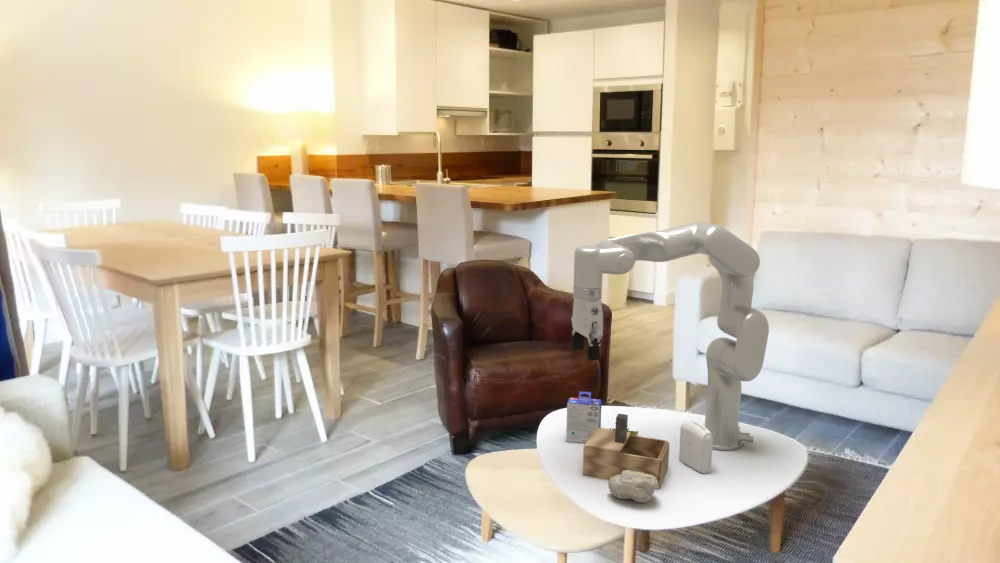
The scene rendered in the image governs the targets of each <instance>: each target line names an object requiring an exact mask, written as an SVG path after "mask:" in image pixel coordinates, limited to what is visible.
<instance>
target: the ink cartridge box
mask: <svg viewBox="0 0 1000 563" xmlns="http://www.w3.org/2000/svg"><path fill="white" fill-rule="evenodd" d="M583 395H587V396H583ZM596 427H599V428H602V399H597V398H592V392H591V391H582V390H581V391H580V390H579V391H578V397H569V398H568V401H567V403H566V427H565V428H566V429H565V430H566V431H565V432H566V433H565V435H566V436H565V441H566V442H570V443H572V442H573V443H581V444H586V442H587V441H588V439H589V438H590V436H591V435H592V433H593V432H594V430H595V429H596Z"/></svg>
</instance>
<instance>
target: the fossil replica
mask: <svg viewBox="0 0 1000 563" xmlns="http://www.w3.org/2000/svg"><path fill="white" fill-rule="evenodd" d="M607 485H608V489H609V492H610V493H611V495H612V496H614V497H615V498H618V499H622V500H629V499H630V500H633V501H635V502H637V503H639V504H640V503H648V502H649V501H650V500H651V499H652V496H653V495H654V493H655V490H658V489H660V488H659V486H658V481H657V478H656V477H655V476H653V475H649V474H644V473H640V472H635V471H631V470H625V471H623V472H622V474H621V475H616V476H614V477H611V478H610V479H609V480H608V484H607ZM657 488H658V489H657Z"/></svg>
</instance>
